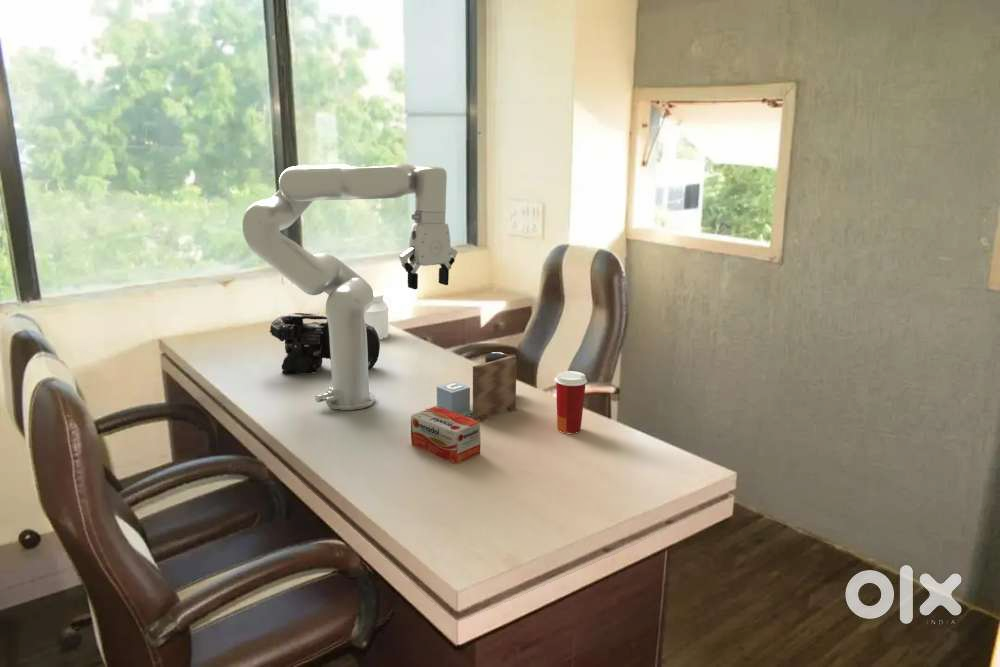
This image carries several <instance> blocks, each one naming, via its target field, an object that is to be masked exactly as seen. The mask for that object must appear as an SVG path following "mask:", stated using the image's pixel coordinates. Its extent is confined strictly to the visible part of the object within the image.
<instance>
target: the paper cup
mask: <svg viewBox="0 0 1000 667" xmlns="http://www.w3.org/2000/svg"><path fill="white" fill-rule="evenodd" d="M586 377H587V376H586V375H585V374H584V373H582V372H580V371H573V370H565V371H560V372H559V373H557V374H556V376H555V378H554V382H555V385H556V387H555V389H556V390H555V391H556V424H557V431H558V430H559V431H561V432H564V433H576V432H579V431H580V432H581V429H582V428H581V427H582V421H583V411H584V404H585V394H586V386H587V385H586V383H588V379H587V378H586ZM559 431H558V432H559ZM561 432H560V433H561ZM580 432H579V433H580ZM564 433H563V434H564ZM576 434H577V433H576Z"/></svg>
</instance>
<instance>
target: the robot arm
mask: <svg viewBox="0 0 1000 667" xmlns="http://www.w3.org/2000/svg"><path fill="white" fill-rule="evenodd" d="M278 188H279V189H278V190H277V191H276V192H275V193H274V194H273V195H272V197H270V198H267V199H262V200H259V201H256V202H254V203H252V204H251V205H250V206H249V207H248V208H247V209H246V211H245V213H244V216H243V219H242V233H243V236H244V240H245V241H246V244H247V245H248V247H249V249H251V251H252V252H253V253H254V254H256V255H257V256H258V257H259V258H260V259H261V260H262V261H264V262H265V263H267V264H268V265H270V266H271V267H272V269H275V270H276V271H277V272H278V273H279V274H280V275H282V276H283V277H284V278H286V280H288V281H289V282H291V283H292V284H294V285H295V286H296V287H297V288H298V289H299V290H301V291H302V292H304V293H305V294H307V295H308V296H309V295H310V296H318V295H322V294H323V293H326V294H327V295H328V297H327V299H326V302H325V314H326V316H327V319H326V322H327V321H328V327H329V338H330V354H331V360H330V370H331V371H330V372H331V386H329V387H328V391H326V392H324V393H320V394H317V395H315V398H314V399H315V401H316V403H322V402H324V401H325V403H326V404H327V406H328V407H329V406H330V407H329V408H331V407H332V408H331V409H334V408H335V410H338V409H340V410H341V411H355V410H356V409H357V410H362V409H365V408H369V407H371V406H373V404H375V402H376V397H375V396H376V395H375V394H374V393H372V392H370V384H369V370H368V351H367V332H366V325H365V319H364V313H365V312H366V311H367V310H368V309H369V308H370V306H371V305H372V303H373V299H374V294H373V288H372V286H371V284H370V283H368V282H367V280H365V279H364V278H363V277H361V276H360V275H359V274H358V273H357V272H355V271H354V270H353V269H352V268H350V267H349V266H348V265H347V264H345V263H344V262H342V260H340V259H338V258H337V257H336V256H333V255H332V254H329V253H326V252H325V253H324V252H323V253H322V252H320V253H319V252H318V253H316V254H311V253H310V252H309V251H307V250H306V249H305V248H303V247H302V246H301V245H300V244H298V243H297V242H296V241H294V240H292V239H291V238H289V237H287V236H285V235H284V234H282V231H283V230H286V229H288V228H289V227H291V226H292V225H293V224H294V223H295V222H296V221H297V220H298V219H299V218H300V217H301V216H302V214H303V213H305V211H306V210H307V209H308V208H309V207H310V205H312V203H313V202H316V201H343V200H345V201H346V200H347V201H351V200H381V199H384V200H385V199H397V198H402V197H403V196H407V195H410V194H411V195H412V194H414V195H415V196H414V213H413V214H411V220H413V221H414V223H412V225H411V226H412V227H411V231H410V236H409V245H408V246H409V247H408V248H407V250H406V251H404V252H402V254H400V255H399V257H398V258H399V261H400V263H401V266H402V268H403V269H404V270H405V272H407V287H408V288H409V289H412V290H418V289H419V288H418V285H419V282H418V281H419V274H418V273H417V272H418V270H419V268H420V267H421V266H422V267H424V266H425V267H427V266H435V265H436V266H437V265H439V266H440V267H439V268H438V283H439V284H440V285H444V286H448V285H449V278H450V276H449V274H450V270H451V269H452V265H453V264H454V263H455V259H456V257H457V254H458V250H456V249H455V248H453V247H451V234H450V229H449V228H450V227H449V224H448V223H447V222H446V213H447V212H446V211H447V208H446V207H447V204H446V203H447V171H446V169H445V168H444V167H439V166H429V165H428V166H427V165H423V166H416V165H414V164H413V165H412V164H408V163H397V164H393V165H384V166H383V165H382V166H368V167H367V166H366V167H365V166H363V167H362V166H361V167H359V166H350V165H348V164H343V163H341V164H325V165H323V164H322V165H308V164H302V165H296V166H295V165H294V166H290V167H288V168H286V169H284V171H282V173H281V174H280V177H279V179H278ZM408 260H409V261H408Z"/></svg>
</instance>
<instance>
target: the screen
mask: <svg viewBox="0 0 1000 667" xmlns="http://www.w3.org/2000/svg"><path fill="white" fill-rule="evenodd" d="M517 361H518V360H517V356H516V355H514V354H513V355H510V356H508V357H505V358H501V359H498V360H494V361H491V362H487V363H485V362H483V363H480V364H477V365H473V366H472V406H473V413H472V415H471V418H472V419H474V420H477V421H480V422H484V421H487V420H489V417H492V416H494V415H497V414H499V413H503V412H506V411H508V412H514V411H517V409H518V408H517V406H518V405H516V404H517V402H516V400H517Z"/></svg>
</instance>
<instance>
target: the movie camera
mask: <svg viewBox="0 0 1000 667" xmlns="http://www.w3.org/2000/svg"><path fill="white" fill-rule="evenodd" d="M306 319H307V320H326V322H324V321H321V322H316V321H314V322H313V321H312V322H307V323H304V320H306ZM365 325H366V332H367V351H368V371H370V370H371V369H373V367H374V366H375V364H376V363H377V362H378V359H379V356H380V349H381V348H380V346H381V345H380V344H381V343H380V340H379V337H378V334H377V332H376V330H375V329H374V327H372V326H370V325H368V324H365ZM269 329H270V330H269V333H270V335H271V336H273V337H274V338H276V339H278V340H279V342H284V349H285V354H286V355H285V357H284V359H283V362H282V365H281V373H282V374H285V375H286V374H287V375H289V374H290V375H296V374H297V373H298V374H299V373H305V374H307V373H312V372H315V373H316V372H318V371H319V370H320V369H321V367H322V364H323V359H326V360H327V359H329V360H330V361H331V354H330V338H329V327H328V321H327V316H326V313H325V314H324V313H301V312H294V313H288V314H282V315H278V317H277V318H276V319H275V320H273V321H272V322H271V324H270V328H269ZM312 374H313V373H312Z"/></svg>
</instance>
